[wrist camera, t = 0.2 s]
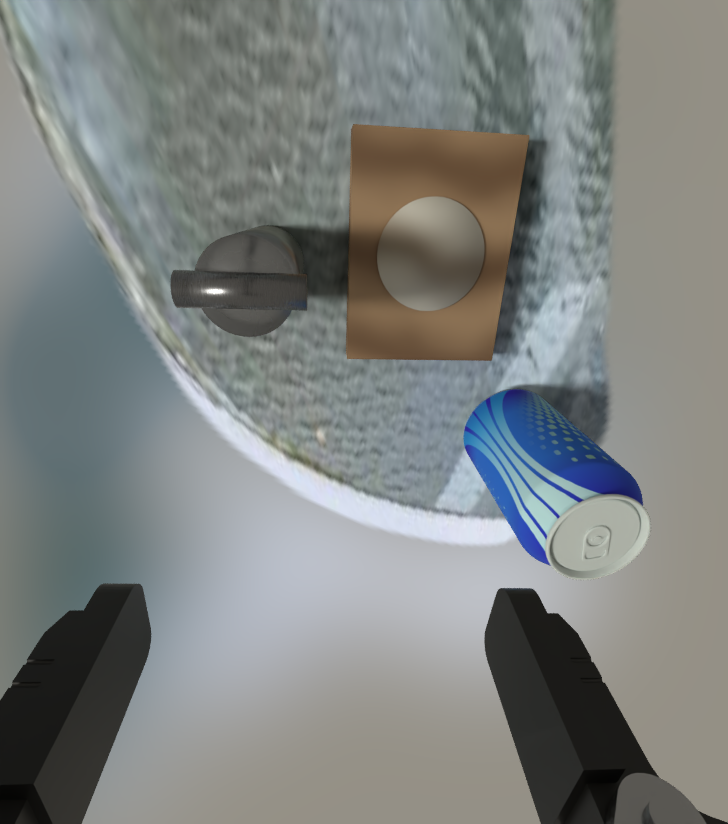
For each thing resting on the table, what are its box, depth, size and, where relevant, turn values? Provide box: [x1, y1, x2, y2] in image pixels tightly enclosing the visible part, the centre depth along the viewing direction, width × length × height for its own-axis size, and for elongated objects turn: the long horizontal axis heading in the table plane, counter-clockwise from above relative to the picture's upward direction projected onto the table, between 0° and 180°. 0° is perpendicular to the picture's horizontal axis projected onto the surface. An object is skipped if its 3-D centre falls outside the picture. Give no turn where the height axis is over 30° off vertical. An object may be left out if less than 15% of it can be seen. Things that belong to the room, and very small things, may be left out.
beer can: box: [464, 389, 651, 580], centre depth 35 cm, size 8×8×16 cm
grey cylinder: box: [171, 225, 307, 337], centre depth 28 cm, size 5×6×14 cm
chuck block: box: [346, 124, 529, 361], centre depth 34 cm, size 16×12×2 cm
